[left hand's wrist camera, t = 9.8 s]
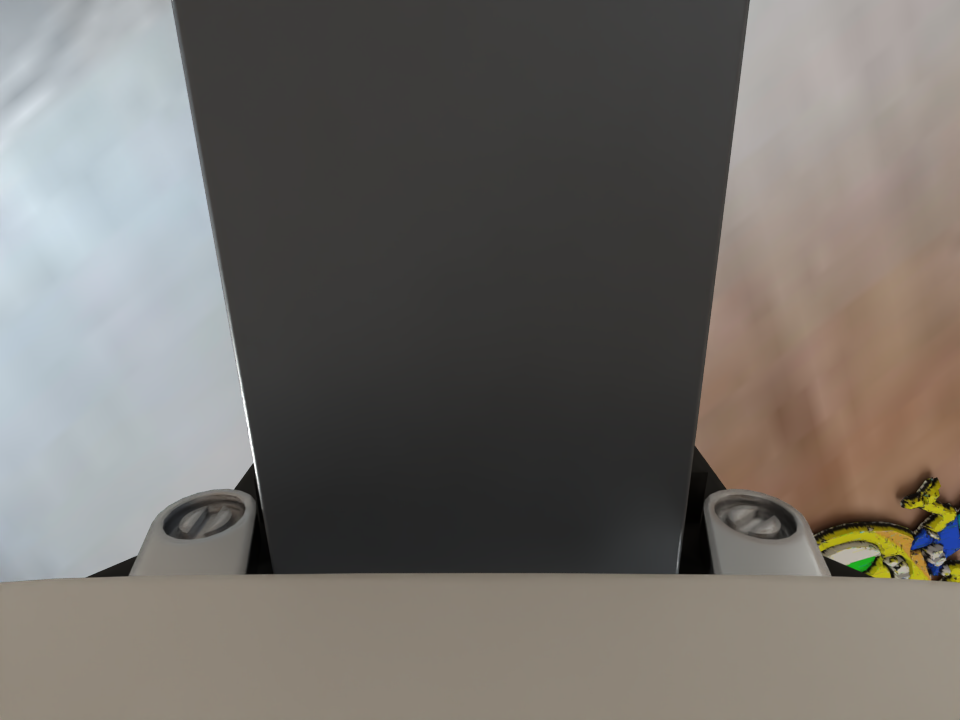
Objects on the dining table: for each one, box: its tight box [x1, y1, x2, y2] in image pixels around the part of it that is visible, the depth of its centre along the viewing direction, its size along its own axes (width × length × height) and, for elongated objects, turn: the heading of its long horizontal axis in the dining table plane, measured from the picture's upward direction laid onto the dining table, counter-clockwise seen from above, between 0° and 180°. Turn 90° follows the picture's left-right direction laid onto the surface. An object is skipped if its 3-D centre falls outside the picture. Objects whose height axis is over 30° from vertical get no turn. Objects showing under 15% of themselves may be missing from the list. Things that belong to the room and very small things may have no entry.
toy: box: [814, 477, 960, 583], centre depth 33 cm, size 10×1×15 cm
